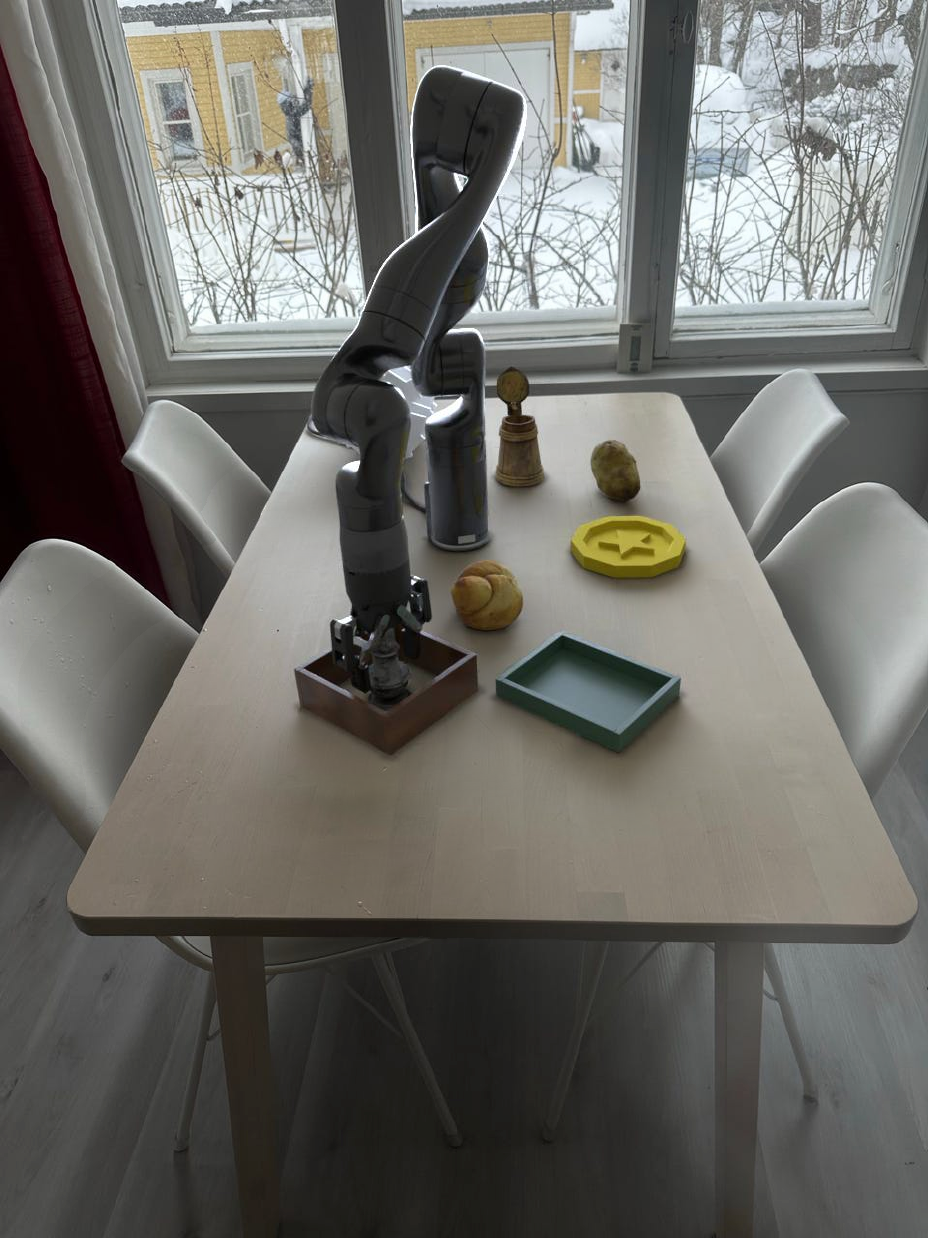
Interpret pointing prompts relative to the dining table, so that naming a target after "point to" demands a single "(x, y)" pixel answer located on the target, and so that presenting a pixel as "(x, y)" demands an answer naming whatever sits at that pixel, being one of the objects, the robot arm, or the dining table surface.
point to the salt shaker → (388, 674)
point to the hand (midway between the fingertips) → (387, 673)
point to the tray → (589, 689)
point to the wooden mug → (517, 434)
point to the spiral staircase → (410, 406)
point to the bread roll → (487, 596)
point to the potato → (615, 470)
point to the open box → (406, 717)
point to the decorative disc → (628, 546)
